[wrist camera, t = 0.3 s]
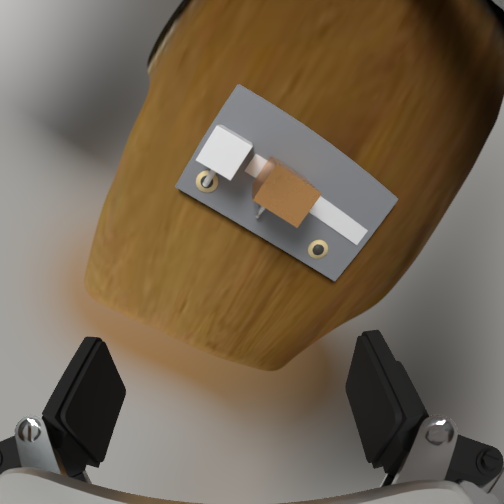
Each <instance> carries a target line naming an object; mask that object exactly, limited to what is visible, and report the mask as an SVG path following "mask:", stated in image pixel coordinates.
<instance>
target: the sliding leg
mask: <svg viewBox="0 0 504 504" xmlns="http://www.w3.org/2000/svg"><path fill="white" fill-rule="evenodd" d="M321 194H322V193H321V192H320V191H319V190H318V189H317V188H316V187H315V186H314V185H313V184H312V183H311V182H310V181H309V180H308V179H307V178H305V177H304V176H302V175H301V174H299V173H298V172H296V171H295V170H293V169H292V168H290V167H289V166H287V165H286V164H284V163H283V162H281V161H280V160H278V159H276V158H275V157H273V156H272V155H271V156H270V158H269V159H268V161H267V162H266V164H265V165H264V167H263V168H262V170H261V171H260V173H259V174H258V176H257V177H256V179H255V180H254V182H253V183H252V200H253V201H255V202H256V203H258V204H260V205H261V207H260V208H259V210H258V211H257V213H256V214H255V217H256V218H260V216H261V215H262V213H263V212H264V210H265V209H268V210H269V211H271V212H273V213H274V214H276V215H277V216H279V217H281V218H282V219H284V220H285V221H287V222H289V223H290V224H292V225H293V226H295V227H296V228H298V226H299V225H300V224H301V222H302V221H303V219H304V218H305V217H306V215H307V214H308V212H309V211H310V210H311V208H312V207H313V206H314V204H315V203H316V201H317V200H318V199H319V197H320V196H321Z"/></svg>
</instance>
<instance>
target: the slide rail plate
mask: <svg viewBox="0 0 504 504" xmlns="http://www.w3.org/2000/svg"><path fill="white" fill-rule="evenodd" d="M271 155H272V156H273V157H275V158H276V159H278V160H280V161H281V162H283V163H284V164H286V165H287V166H289V167H290V168H292V169H293V170H295V171H296V172H298V173H299V174H301V175H302V176H304V177H305V178H307V179H308V180H309V181H310V182H311V183H312V184H313V185H314V186H315V187H316V188H317V189H318V190H319V191H320V192H321V193H322V194H321V196H320V197H319V199H318V200H317V201H316V203H315V204H314V206H313V207H312V208H311V210H310V211H309V212H308V214H307V215H306V217H305V218H304V219H303V221H302V222H301V224H300V225H299V226H298V228H296V227H295V226H293V225H292V224H290V223H289V222H287V221H285V220H284V219H282V218H281V217H279V216H277V215H276V214H274V213H273V212H271V211H269V210H268V209H265V210H264V212H263V213H262V215H261V216H260V218H256V217H255V214H256V213H257V211H258V210H259V208H260V207H261V205H260V204H258V203H256V202H255V201H253V200H252V183H253V182H254V180H255V179H256V177H257V176H258V174H259V173H260V171H261V170H262V168H263V167H264V165H265V164H266V162H267V161H268V159H269V158H270V156H271ZM175 187H176V188H178V189H180V190H181V191H183V192H185V193H187V194H188V195H190V196H192V197H193V198H195V199H197V200H199V201H200V202H202V203H204V204H206V205H207V206H209V207H211V208H212V209H214V210H216V211H218V212H219V213H221V214H223V215H224V216H226V217H228V218H230V219H231V220H233V221H235V222H236V223H238V224H240V225H242V226H243V227H245V228H247V229H248V230H250V231H252V232H253V233H255V234H257V235H258V236H260V237H262V238H264V239H265V240H267V241H269V242H270V243H272V244H274V245H275V246H277V247H279V248H280V249H282V250H284V251H285V252H287V253H289V254H290V255H292V256H294V257H295V258H297V259H299V260H300V261H302V262H304V263H305V264H307V265H309V266H310V267H312V268H314V269H315V270H317V271H319V272H320V273H322V274H323V275H325V276H327V277H328V278H330V279H332V280H333V281H336V279H337V278H338V277H339V276H340V275H341V273H342V272H343V271H344V270H345V269H346V267H347V266H348V265H349V264H350V262H351V261H352V260H353V259H354V257H355V256H356V255H357V254H358V252H359V251H360V250H361V249H362V247H363V246H364V245H365V243H366V242H367V241H368V240H369V238H370V237H371V236H372V234H373V233H374V232H375V230H376V229H377V228H378V226H379V225H380V224H381V222H382V221H383V220H384V218H385V217H386V216H387V214H388V213H389V212H390V210H391V209H392V208H393V206H394V205H395V203H396V202H397V201H398V198H397V197H395V196H394V195H393V194H392V193H391V192H390V191H389V190H388V189H386V188H385V187H384V186H383V185H382V184H381V183H379V182H378V181H377V180H376V179H375V178H373V177H372V176H371V175H370V174H369V173H367V172H366V171H365V170H364V169H363V168H361V167H360V166H359V165H358V164H356V163H355V162H354V161H353V160H351V159H350V158H349V157H347V156H346V155H345V154H343V153H342V152H341V151H340V150H338V149H337V148H336V147H334V146H333V145H332V144H330V143H329V142H327V141H326V140H325V139H323V138H322V137H321V136H319V135H318V134H316V133H315V132H314V131H312V130H311V129H309V128H308V127H306V126H305V125H303V124H302V123H301V122H299V121H298V120H296V119H295V118H293V117H292V116H290V115H289V114H287V113H285V112H284V111H282V110H281V109H279V108H278V107H276V106H274V105H273V104H271V103H270V102H268V101H266V100H265V99H263V98H262V97H260V96H258V95H257V94H255V93H253V92H251V91H250V90H248V89H246V88H245V87H243V86H241V85H239V84H238V85H237V86H236V88H235V89H234V91H233V92H232V94H231V95H230V97H229V98H228V100H227V101H226V103H225V104H224V106H223V107H222V109H221V110H220V112H219V113H218V115H217V117H216V118H215V120H214V121H213V123H212V124H211V126H210V128H209V129H208V131H207V133H206V134H205V136H204V137H203V139H202V141H201V142H200V144H199V146H198V147H197V149H196V151H195V152H194V154H193V156H192V158H191V159H190V161H189V163H188V165H187V166H186V168H185V170H184V172H183V173H182V175H181V177H180V179H179V181H178V182H177V184H176V186H175Z"/></svg>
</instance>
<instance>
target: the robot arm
mask: <svg viewBox="0 0 504 504" xmlns="http://www.w3.org/2000/svg"><path fill="white" fill-rule="evenodd" d="M346 393H347V396H348V399H349V402H350V406H351V409H352V412H353V415H354V419H355V422H356V425H357V428H358V432H359V435H360V438H361V442H362V445H363V449H364V452H365V455H366V459H367V461H368V463H372V464H373V468H374V469H375V468H378V467H382V466H383V467H384V471H385V473H386V475H385V477H384V479H383V481H382V483H381V484H380V486H379V488H375V489H370V490H366V491H362V492H357V493H353V494H347V495H342V496H336V497H330V498H324V499H317V500H309V501H301V502H292V503H280V504H504V464H503V456H502V454H501V452H500V451H499V450H498V449H497V448H495V447H493V446H489V445H486V444H483V443H480V442H477V441H475V440H472V439H469V438H466V437H463V436H461V435H458V430H457V426H456V425H455V423H454V422H453V421H452V420H451V419H450V418H448V417H446V416H444V415H432V416H430V417H429V415H428V413H427V411H426V409H425V407H424V405H423V403H422V401H421V399H420V397H419V395H418V393H417V392H416V389H415V388H414V386H413V384H412V382H411V380H410V378H409V376H408V374H407V372H406V370H405V369H404V367H403V365H402V364H401V362H399V361H396V360H395V358H394V357H393V354H392V353H391V351H390V349H389V347H388V345H387V343H386V342H385V340H384V338H383V336H382V335H381V333H380V331H379V330H372V331H365V332H363V333H362V335H361V336H358V338H357V342H356V346H355V350H354V354H353V358H352V362H351V366H350V370H349V374H348V378H347V382H346ZM125 395H126V389H125V386H124V384H123V382H122V380H121V378H120V375H119V373H118V371H117V369H116V366H115V364H114V362H113V360H112V357H111V355H110V353H109V350H108V348H107V345H106V343H105V342H103V341H102V339H101V338H98V337H85V338H84V340H83V342H82V343H81V345H80V347H79V348H78V350H77V352H76V353H75V355H74V357H73V358H72V360H71V362H70V363H69V365H68V367H67V369H66V370H65V372H64V374H63V376H62V378H61V379H60V381H59V382H58V385H57V386H56V388H55V390H54V392H53V394H52V395H51V397H50V399H49V401H48V403H47V405H46V407H45V409H44V411H43V412H42V414H43V416H42V418H40V417H38V416H35V415H29V416H26V417H24V418H22V419H21V420H20V421H19V422H18V424H17V425H16V428H15V436H13V437H10V438H8V439H6V440H3V441H1V442H0V504H201V503H189V502H179V501H171V500H164V499H157V498H151V497H145V496H140V495H135V494H130V493H125V492H121V491H117V490H112V489H108V488H104V487H101V486H97V485H93V484H92V483H91V481H90V479H89V477H88V475H87V473H86V471H85V468H86V465H90V466H94V467H97V468H98V467H99V465H100V462H103V461H104V458H105V455H106V452H107V449H108V446H109V442H110V439H111V436H112V433H113V430H114V427H115V424H116V421H117V418H118V415H119V412H120V409H121V406H122V404H123V401H124V398H125Z"/></svg>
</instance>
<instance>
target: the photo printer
mask: <svg viewBox="0 0 504 504" xmlns="http://www.w3.org/2000/svg"><path fill="white" fill-rule="evenodd" d="M492 1H493V2H494V3H495V4H497V5H498V6H499V7H500V8H502V9H503V10H504V0H492Z"/></svg>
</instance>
